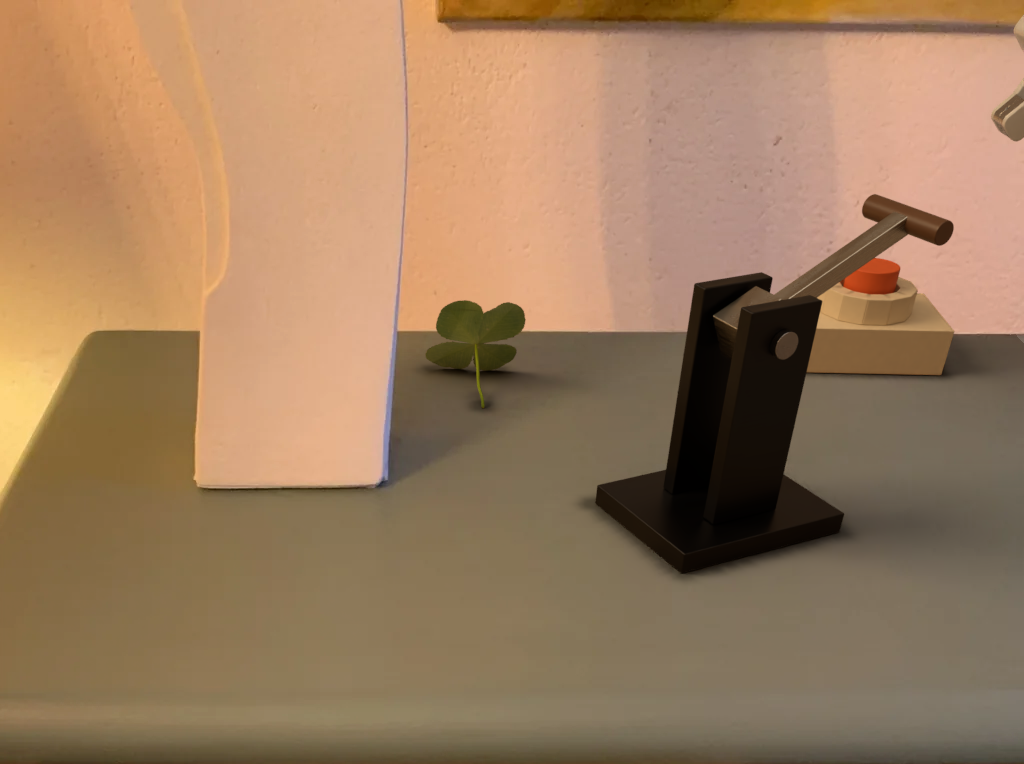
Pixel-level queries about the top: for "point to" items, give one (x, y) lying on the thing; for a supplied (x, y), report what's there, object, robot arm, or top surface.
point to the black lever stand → (730, 439)
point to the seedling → (476, 336)
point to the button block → (879, 333)
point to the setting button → (874, 277)
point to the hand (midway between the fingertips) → (1001, 129)
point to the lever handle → (842, 259)
